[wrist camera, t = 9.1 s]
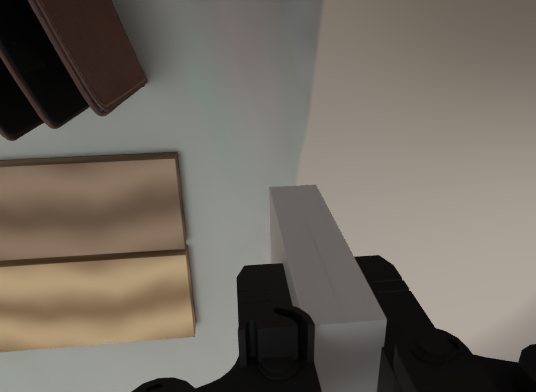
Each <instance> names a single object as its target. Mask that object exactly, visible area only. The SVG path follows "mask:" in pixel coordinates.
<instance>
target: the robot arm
mask: <svg viewBox="0 0 536 392" xmlns="http://www.w3.org/2000/svg"><path fill="white" fill-rule="evenodd" d="M269 192H270V239H271V264H262V265H247V266H244V267H243V268H242V270H241V272H240V273H239V275H238V276H237V298H238V321H239V328H238V342H239V357H238V359H237V361H236V363H235V365H234V366H233V367H232V369H231V370H230V371H229V372H228V373H226V374H225V375H224V376H223V377H221V378H220V379H218V380H216V381H213V382H211V383H209V384H206V385H204V386H201V387H198V388H196V389H195V388H194V387H193V386H192V385H190V384H189V383H188V382H187V381H184V380H180V379H177V378H158V379H155V380H152V381H149V382H146V383H144V384H142V385H140V386H139V387H138V388H136V389H135V390H133V391H132V392H536V344H533V345H529V346H528V347H526V348H525V349H523V350H522V352H521V355H520V358H519V362H518V363H517V362H512V361H505V360H499V359H492V358H485V357H482V356H478V355H473V354H472V353H471V351H470V350H469V349H468V348H467V347H466V345H465V344H463V342H461V341H460V340H459V339H458V338H457V337H455V336H453V335H451V334H450V333H448V332H446V331H443V330H440V329H436V328H435V327H434V325H433V324H432V322H431V321H430V319H429V318H428V316H427V315H426V313H425V312H424V310H423V309H422V307H421V306H420V304H419V303H418V301H417V300H416V298H415V297H414V295H413V294H412V292H411V291H409V288H408V286H407V285H406V283H405V282H404V281H403V280H402V278H401V276H400V274H399V273H398V271H397V270H396V268H395V267H394V266H393V265H392V264H391V263H389V262H388V261H386V260H385V259H384V258H382V257H381V256H379V255H376V256H360V257H354V256H353V254H352V252H351V250H350V248H349V247H348V245H347V243H346V241H345V239H344V237H343V235H342V233H341V232H340V229H339V228H338V226H337V224H336V222H335V220H334V218H333V216H332V214H331V212H330V210H329V209H328V207H327V205H326V203H325V201H324V199H323V197H322V195H321V194H320V192H319V190H318V188H317V186H316V185H302V186H283V187H269Z"/></svg>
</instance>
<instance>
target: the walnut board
mask: <svg viewBox="0 0 536 392" xmlns="http://www.w3.org/2000/svg"><path fill="white" fill-rule="evenodd" d="M186 239H187V238H186V229H185V220H184V210H183V201H182V192H181V183H180V174H179V165H178V156H177V152H166V153H145V154H124V155H103V156H81V157H60V158H39V159H17V160H0V261H2V260H17V259H33V258H49V257H64V256H80V255H95V254H111V253H127V252H142V251H158V250H173V249H185V245H186Z"/></svg>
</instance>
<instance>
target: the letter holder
mask: <svg viewBox="0 0 536 392" xmlns="http://www.w3.org/2000/svg"><path fill="white" fill-rule="evenodd" d="M146 83H147V80H146V77H145V75H144V73H143V71H142V69H141V67H140V65H139V62H138V60H137V58H136V56H135V54H134V52H133V49H132V47H131V45H130V43H129V41H128V39H127V36H126V34H125V32H124V29H123V27H122V25H121V23H120V21H119V18H118V16H117V14H116V12H115V9H114V7H113V5H112V2H111V0H0V134H1V135H2V136H3V137H4V138H6V139H7V140H10V141H14V140H17V139H18V138H20V137H21V136H23V135H24V134H26V133H28V132H29V131H31V130H33V129H34V128H36V127H37V126H39V125H41V124H43V123H46V124H47V125H48V126H49V127H50V128H53V129H57V128H59V127H61V126H62V125H64V124H65V123H67V122H68V121H70V120H71V119H73V118H74V117H76V116H77V115H79V114H80V113H81V112H83V111H84V110H86V109H87V108H89V107H91V109H92V110H93V111H94V112H95V113H96V114H97V115H99V116H106V115H107V114H109V113H110V112H112V111H113V110H114V109H115V108H116V107H117V106H118V105H120V104H121V103H122V102H123V101H125V100H126V99H128V98H129V97H130V96H131V95H132V94H134V93H135V92H136V91H138V90H139V89H140V88H141V87H144V86H145V84H146Z"/></svg>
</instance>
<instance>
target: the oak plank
mask: <svg viewBox="0 0 536 392" xmlns="http://www.w3.org/2000/svg"><path fill="white" fill-rule="evenodd" d="M195 327H196V322H195V313H194V303H193V294H192V285H191V275H190V266H189V256H188V247H187V245H185V249H173V250H158V251H142V252H127V253H111V254H95V255H80V256H64V257H49V258H33V259H17V260H2V261H0V352H9V351H22V350H34V349H47V348H59V347H72V346H85V345H97V344H110V343H122V342H135V341H147V340H160V339H172V338H185V337H195Z"/></svg>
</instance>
